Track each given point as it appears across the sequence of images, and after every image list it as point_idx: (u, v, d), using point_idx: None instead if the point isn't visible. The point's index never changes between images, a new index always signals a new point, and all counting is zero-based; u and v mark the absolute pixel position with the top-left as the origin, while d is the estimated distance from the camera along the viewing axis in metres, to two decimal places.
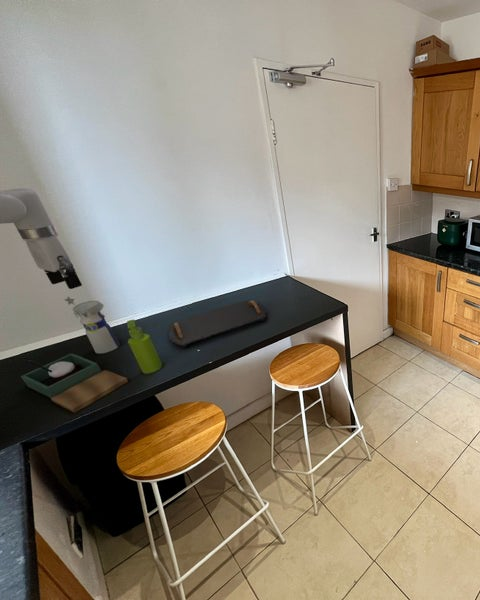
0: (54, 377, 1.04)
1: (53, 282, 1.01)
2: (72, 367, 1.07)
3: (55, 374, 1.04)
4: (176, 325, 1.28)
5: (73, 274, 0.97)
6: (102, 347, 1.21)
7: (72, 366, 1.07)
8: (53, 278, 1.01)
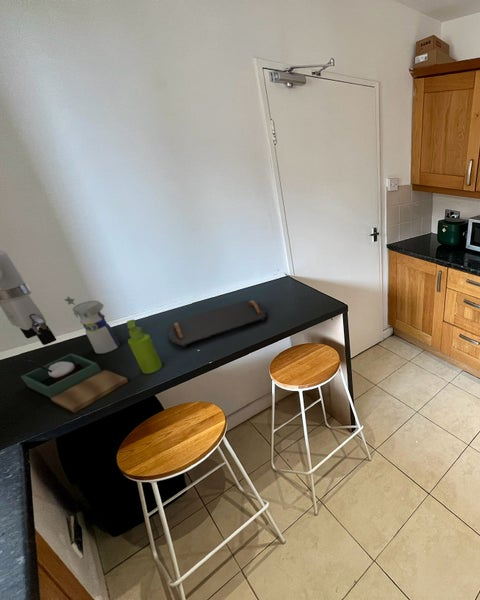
0: (54, 377, 1.04)
1: (28, 336, 1.01)
2: (72, 367, 1.07)
3: (55, 374, 1.04)
4: (176, 325, 1.28)
5: (47, 331, 0.97)
6: (102, 347, 1.21)
7: (72, 366, 1.07)
8: (27, 332, 1.01)
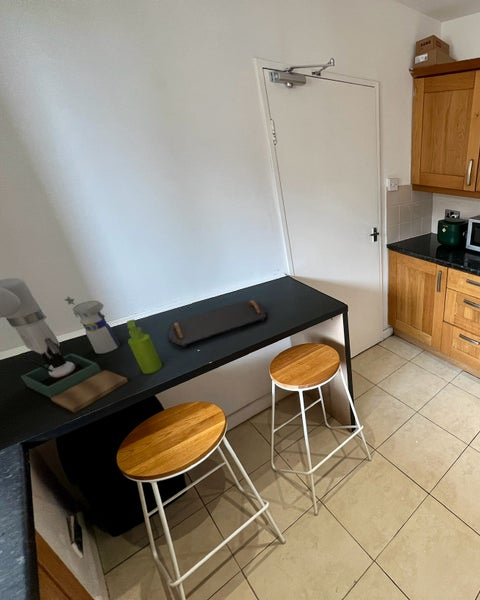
0: (54, 377, 1.04)
1: (48, 363, 1.05)
2: (73, 367, 1.07)
3: (56, 374, 1.04)
4: (176, 325, 1.28)
5: (57, 355, 1.03)
6: (102, 347, 1.21)
7: (73, 366, 1.07)
8: (48, 360, 1.04)
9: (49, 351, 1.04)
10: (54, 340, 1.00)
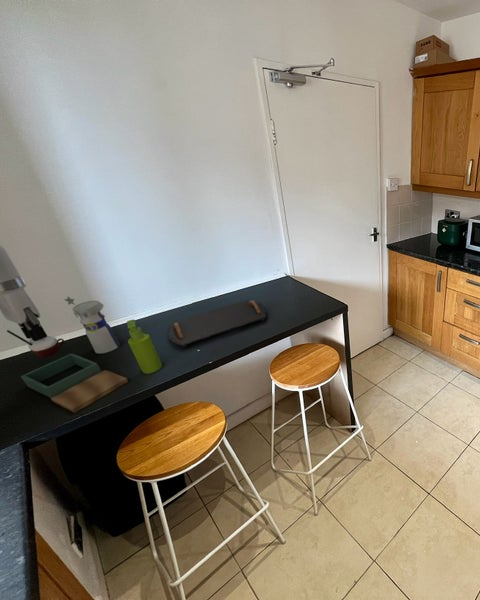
0: (34, 351, 0.98)
1: (28, 337, 0.99)
2: (54, 341, 1.02)
3: (35, 347, 0.98)
4: (176, 325, 1.28)
5: (37, 327, 0.97)
6: (102, 347, 1.21)
7: (54, 340, 1.02)
8: (28, 333, 0.99)
9: None
10: (34, 310, 0.95)
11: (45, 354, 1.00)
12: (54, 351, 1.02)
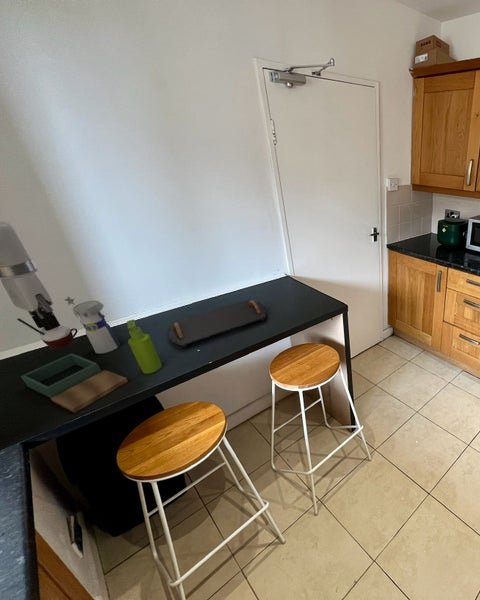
0: (47, 341, 0.91)
1: (40, 326, 0.92)
2: (68, 331, 0.94)
3: (48, 337, 0.91)
4: (176, 325, 1.28)
5: (50, 315, 0.90)
6: (102, 347, 1.21)
7: (68, 330, 0.95)
8: (40, 321, 0.92)
9: (41, 311, 0.91)
10: (46, 297, 0.87)
11: (58, 345, 0.93)
12: (67, 341, 0.95)
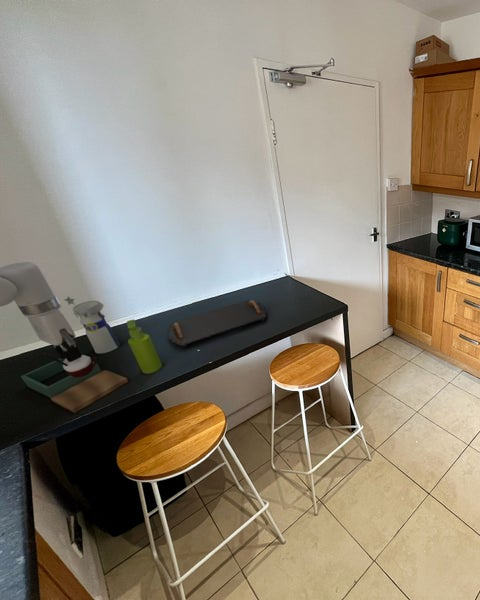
0: (69, 371, 0.96)
1: (63, 357, 0.96)
2: (89, 361, 0.99)
3: (71, 368, 0.95)
4: (176, 325, 1.28)
5: (73, 347, 0.94)
6: (102, 347, 1.21)
7: (89, 360, 0.99)
8: (63, 353, 0.96)
9: (63, 343, 0.96)
10: (69, 331, 0.92)
11: (80, 374, 0.97)
12: (89, 371, 0.99)
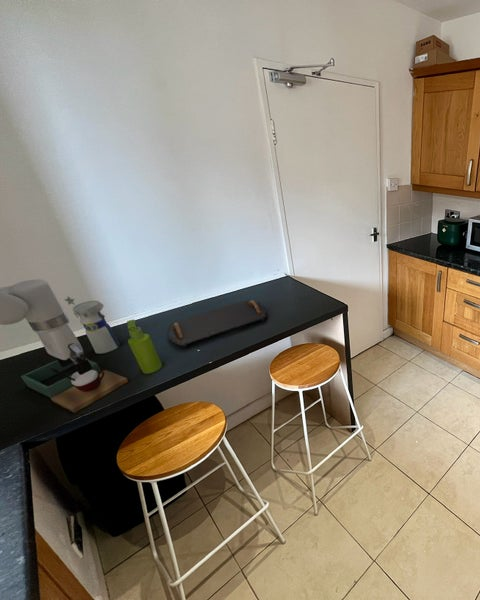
0: (77, 386, 0.98)
1: (63, 365, 0.99)
2: (96, 375, 1.01)
3: (78, 383, 0.98)
4: (176, 325, 1.28)
5: (84, 360, 0.95)
6: (102, 347, 1.21)
7: (96, 374, 1.01)
8: (63, 361, 0.99)
9: None
10: (77, 346, 0.94)
11: (88, 388, 1.00)
12: (96, 385, 1.01)
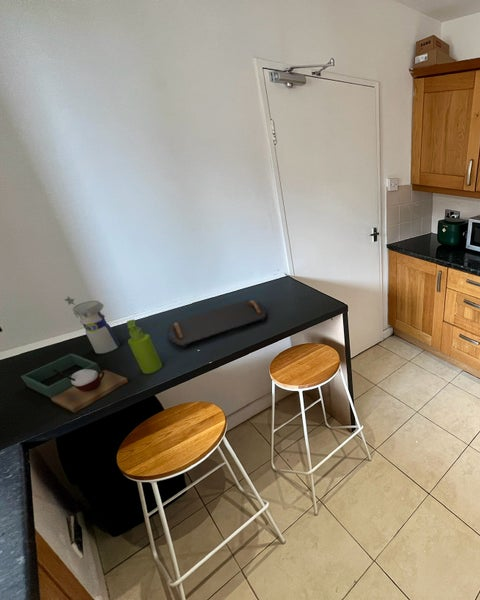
0: (77, 386, 0.98)
1: None
2: (96, 375, 1.01)
3: (78, 383, 0.98)
4: (176, 325, 1.28)
5: None
6: (102, 347, 1.21)
7: (96, 374, 1.01)
8: None
9: None
10: None
11: (88, 388, 1.00)
12: (96, 385, 1.01)
